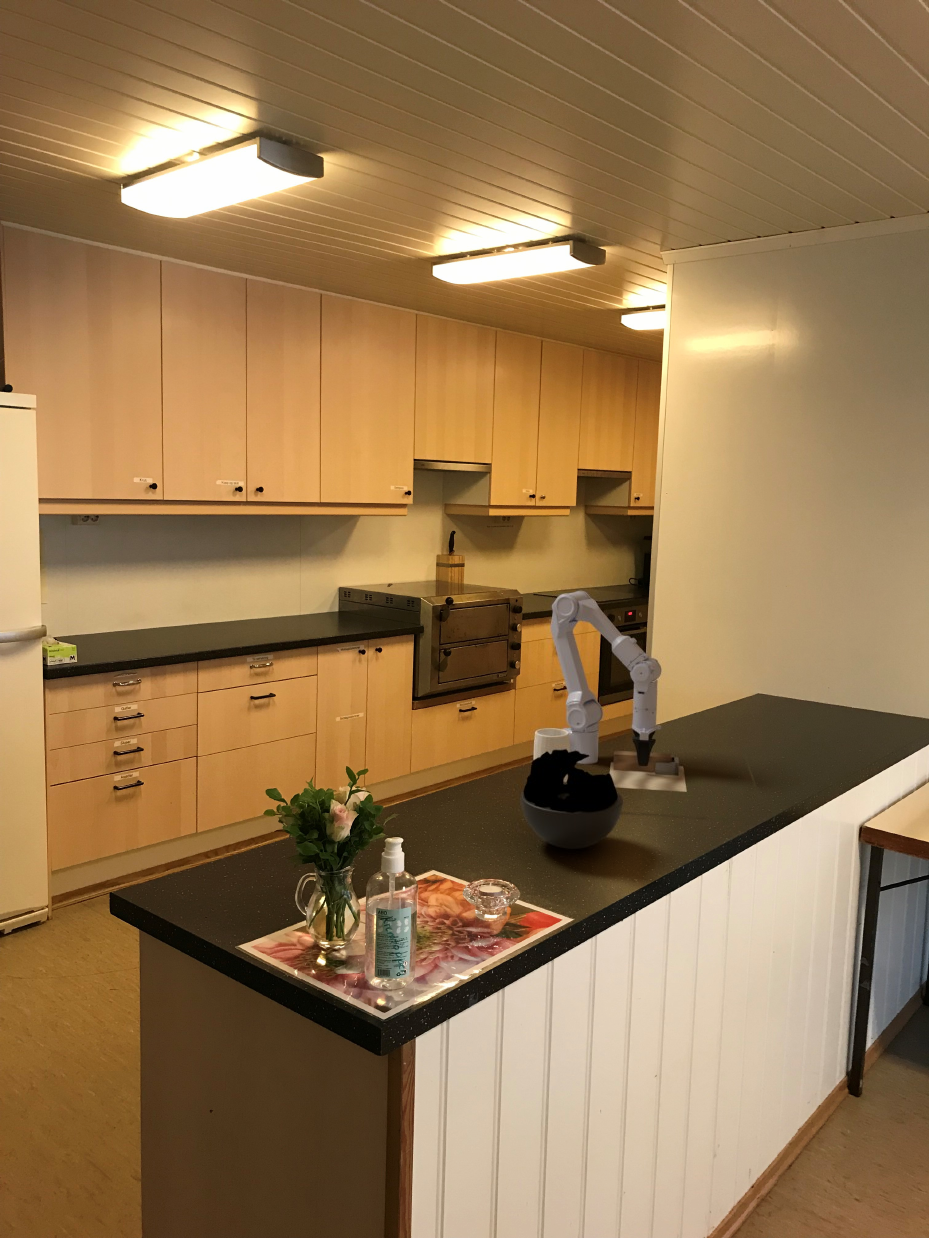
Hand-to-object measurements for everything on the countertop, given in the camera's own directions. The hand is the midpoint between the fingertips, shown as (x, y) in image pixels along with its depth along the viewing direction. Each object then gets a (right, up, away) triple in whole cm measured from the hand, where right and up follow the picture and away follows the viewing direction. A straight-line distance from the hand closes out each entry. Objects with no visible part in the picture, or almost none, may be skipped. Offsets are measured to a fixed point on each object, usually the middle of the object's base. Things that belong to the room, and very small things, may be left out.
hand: (643, 761), depth 244 cm
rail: (0, -2, 0) cm, 2 cm away
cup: (-24, -5, -15) cm, 29 cm away
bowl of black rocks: (-23, -10, -50) cm, 56 cm away
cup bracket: (+6, -2, -1) cm, 6 cm away
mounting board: (0, -4, -5) cm, 6 cm away
